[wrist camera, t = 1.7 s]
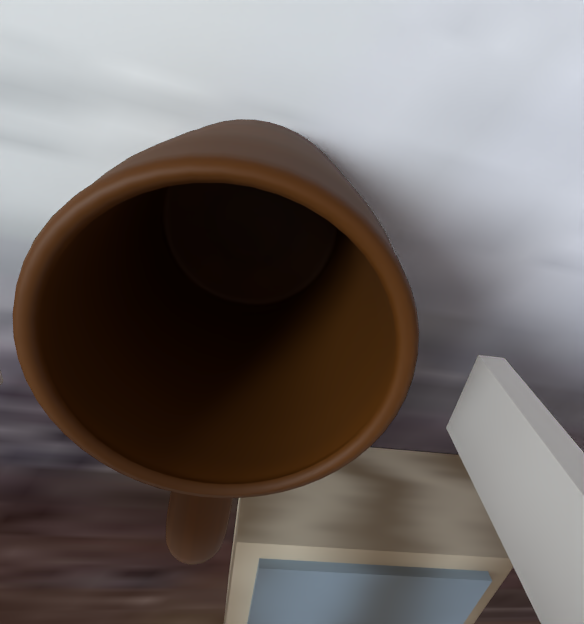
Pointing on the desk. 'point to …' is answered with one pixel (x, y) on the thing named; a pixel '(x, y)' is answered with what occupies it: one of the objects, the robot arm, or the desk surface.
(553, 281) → the desk surface
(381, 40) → the desk surface
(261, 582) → the plinth
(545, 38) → the desk surface
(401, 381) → the mug
